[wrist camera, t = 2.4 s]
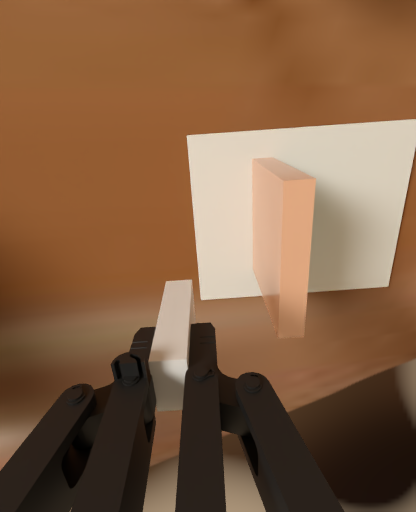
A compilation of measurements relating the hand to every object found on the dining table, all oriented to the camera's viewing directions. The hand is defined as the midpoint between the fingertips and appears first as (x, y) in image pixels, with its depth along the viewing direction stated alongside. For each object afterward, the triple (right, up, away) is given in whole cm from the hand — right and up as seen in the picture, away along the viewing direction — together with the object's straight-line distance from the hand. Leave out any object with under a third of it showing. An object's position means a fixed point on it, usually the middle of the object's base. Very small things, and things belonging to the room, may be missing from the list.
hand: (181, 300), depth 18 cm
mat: (+11, +7, +15) cm, 20 cm away
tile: (+7, +7, +14) cm, 17 cm away
